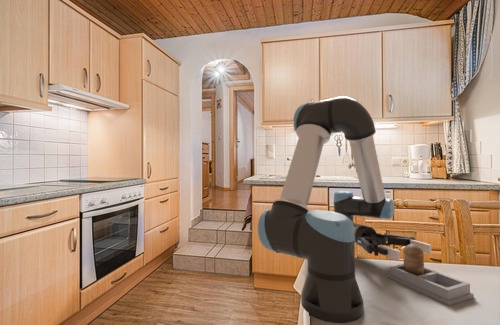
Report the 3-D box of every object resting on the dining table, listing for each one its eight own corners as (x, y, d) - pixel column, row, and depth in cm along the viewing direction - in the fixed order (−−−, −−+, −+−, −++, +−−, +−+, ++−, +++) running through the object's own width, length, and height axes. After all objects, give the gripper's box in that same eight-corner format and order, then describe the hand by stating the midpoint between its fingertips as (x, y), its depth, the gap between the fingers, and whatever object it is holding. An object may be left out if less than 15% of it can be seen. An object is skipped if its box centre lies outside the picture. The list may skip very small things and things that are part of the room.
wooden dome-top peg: (408, 281, 76) (407, 247, 76) (401, 273, 82) (400, 241, 82) (427, 282, 76) (427, 247, 76) (419, 274, 81) (418, 242, 81)
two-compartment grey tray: (388, 277, 81) (388, 266, 81) (410, 272, 85) (410, 261, 85) (449, 305, 65) (448, 291, 65) (473, 297, 68) (473, 284, 69)
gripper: (386, 241, 103) (443, 258, 83) (334, 249, 94) (384, 271, 74) (386, 222, 103) (442, 235, 83) (334, 228, 94) (383, 245, 74)
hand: (415, 252), depth 79 cm, fingers open, 13 cm apart
